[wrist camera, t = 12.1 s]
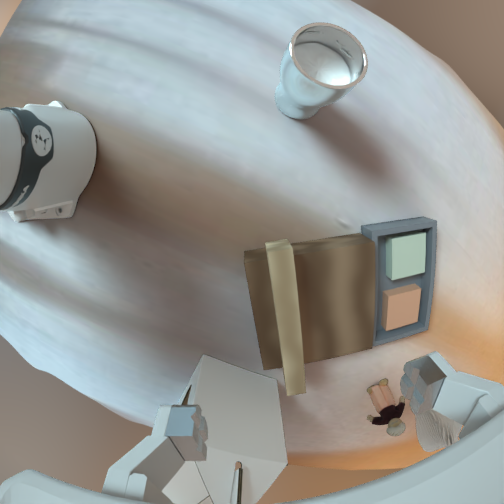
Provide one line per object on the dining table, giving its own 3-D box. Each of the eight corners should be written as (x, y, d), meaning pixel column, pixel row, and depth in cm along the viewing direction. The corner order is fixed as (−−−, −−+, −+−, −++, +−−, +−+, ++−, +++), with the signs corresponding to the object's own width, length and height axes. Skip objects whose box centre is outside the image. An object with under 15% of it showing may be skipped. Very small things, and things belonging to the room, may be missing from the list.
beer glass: (287, 65, 30) (311, 8, 16) (332, 92, 31) (382, 51, 17) (260, 105, 32) (270, 61, 17) (308, 132, 33) (349, 107, 18)
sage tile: (424, 272, 35) (418, 267, 37) (425, 232, 34) (418, 229, 35) (391, 280, 35) (385, 275, 37) (391, 239, 34) (385, 235, 36)
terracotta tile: (417, 321, 38) (411, 316, 39) (421, 288, 36) (414, 283, 38) (386, 331, 38) (381, 324, 40) (388, 296, 36) (382, 291, 38)
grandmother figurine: (387, 371, 44) (415, 417, 31) (394, 380, 45) (421, 424, 32) (354, 395, 45) (375, 444, 33) (362, 403, 46) (383, 449, 34)
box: (362, 335, 41) (370, 347, 38) (361, 225, 36) (371, 230, 33) (417, 319, 41) (427, 329, 37) (423, 216, 36) (436, 220, 32)
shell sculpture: (429, 404, 48) (461, 454, 31) (401, 413, 48) (431, 470, 31) (440, 379, 46) (478, 431, 28) (411, 389, 46) (448, 448, 28)
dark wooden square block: (262, 349, 41) (263, 370, 36) (244, 251, 37) (244, 263, 32) (360, 330, 41) (372, 348, 36) (359, 233, 36) (374, 241, 31)
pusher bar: (284, 377, 37) (287, 396, 33) (265, 242, 31) (267, 252, 27) (301, 374, 37) (305, 392, 33) (287, 238, 31) (292, 248, 27)
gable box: (226, 442, 48) (221, 556, 21) (167, 423, 47) (139, 539, 20) (278, 378, 43) (299, 533, 16) (204, 351, 41) (171, 518, 14)
